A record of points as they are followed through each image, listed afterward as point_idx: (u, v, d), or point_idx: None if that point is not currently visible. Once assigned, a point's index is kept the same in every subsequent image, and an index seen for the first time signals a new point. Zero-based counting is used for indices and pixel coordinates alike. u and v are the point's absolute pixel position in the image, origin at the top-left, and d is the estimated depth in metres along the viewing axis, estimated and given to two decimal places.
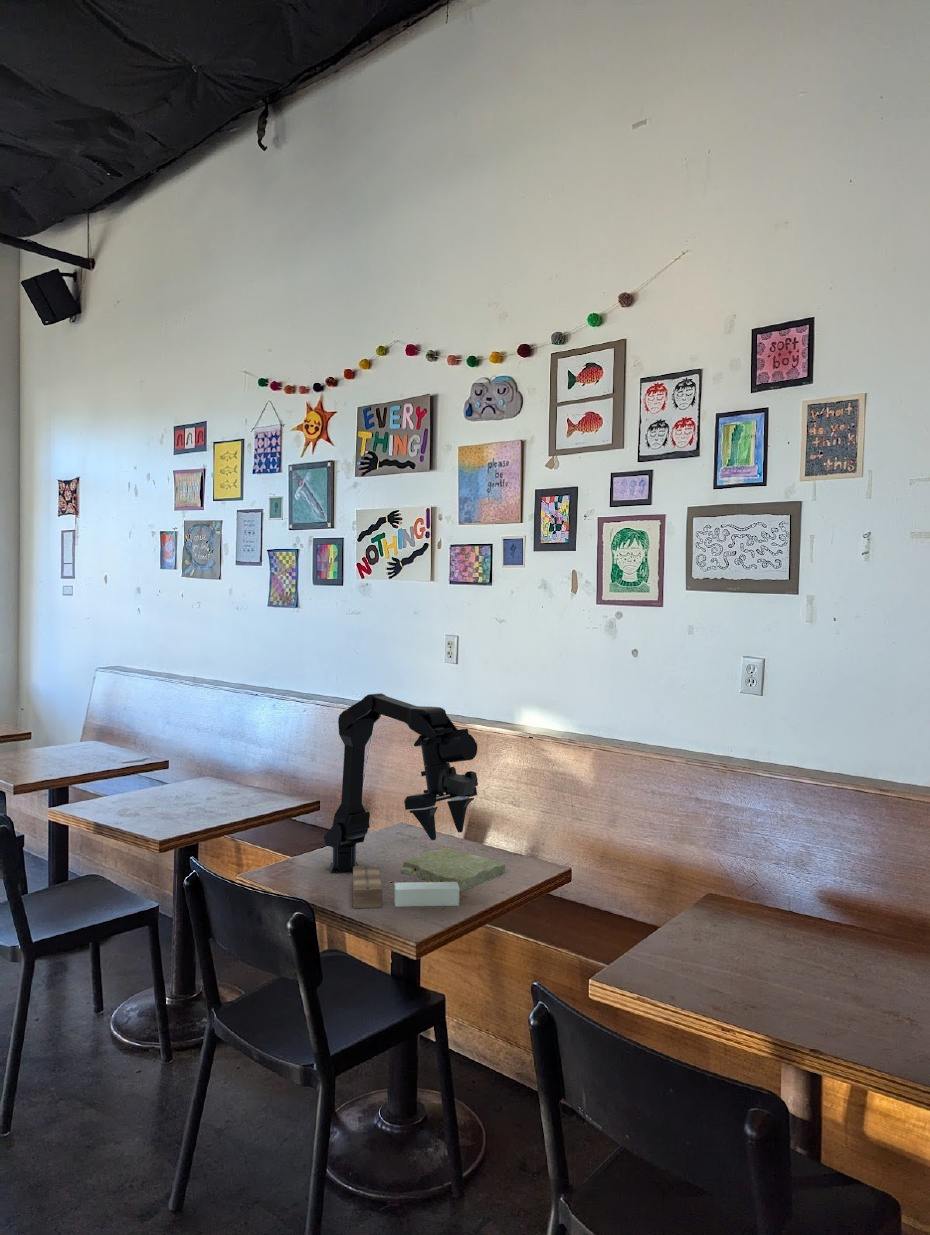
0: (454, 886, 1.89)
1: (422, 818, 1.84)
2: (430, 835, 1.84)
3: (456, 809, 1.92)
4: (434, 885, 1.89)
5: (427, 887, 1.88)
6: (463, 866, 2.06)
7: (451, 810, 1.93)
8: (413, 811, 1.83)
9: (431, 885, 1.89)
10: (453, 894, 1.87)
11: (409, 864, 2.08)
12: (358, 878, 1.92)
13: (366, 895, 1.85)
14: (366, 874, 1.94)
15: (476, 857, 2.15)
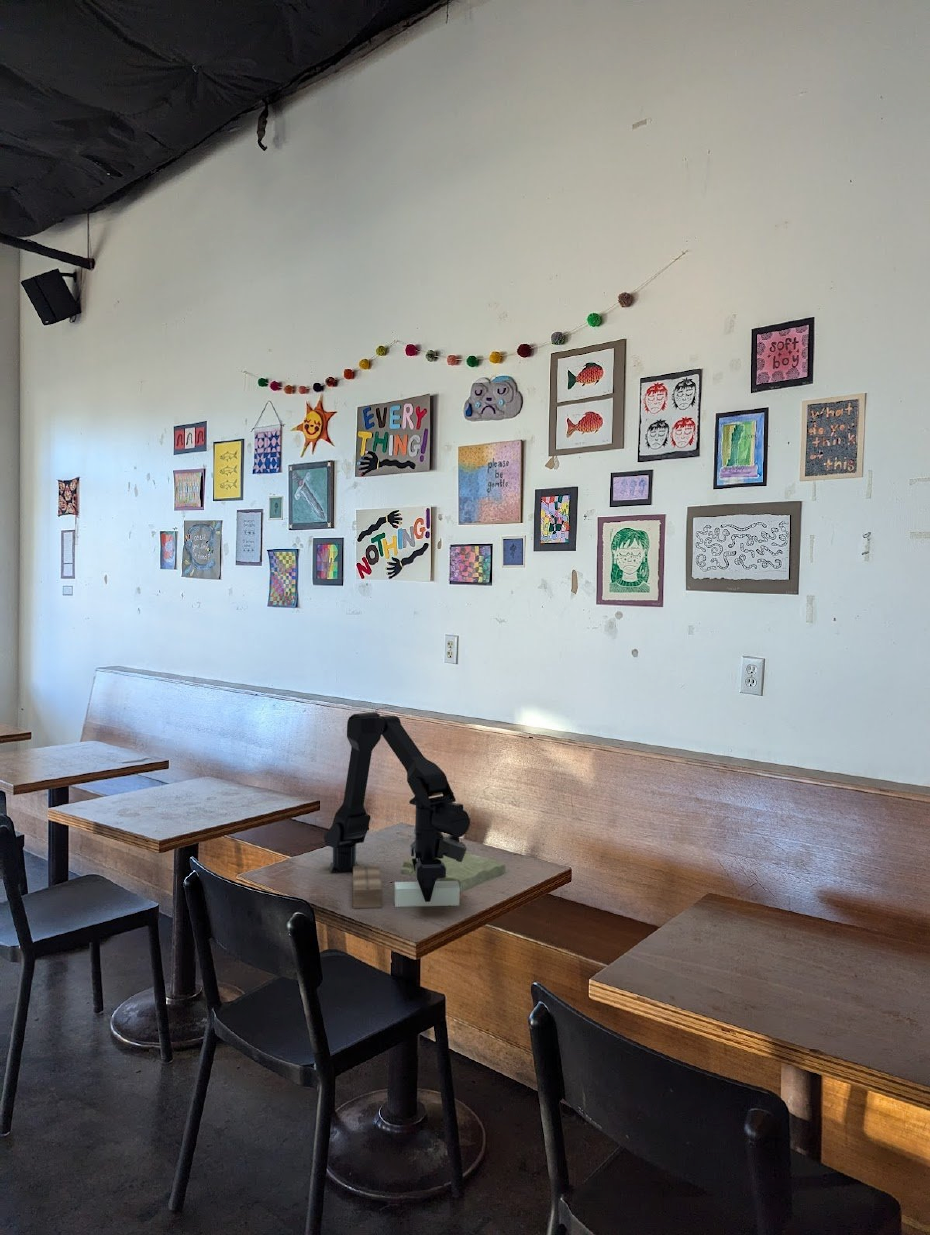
0: (454, 885, 1.89)
1: (423, 881, 1.85)
2: (426, 897, 1.86)
3: None
4: None
5: None
6: (463, 866, 2.06)
7: None
8: None
9: None
10: (453, 893, 1.87)
11: (409, 864, 2.08)
12: (358, 878, 1.92)
13: (366, 895, 1.85)
14: (366, 874, 1.94)
15: (476, 857, 2.15)
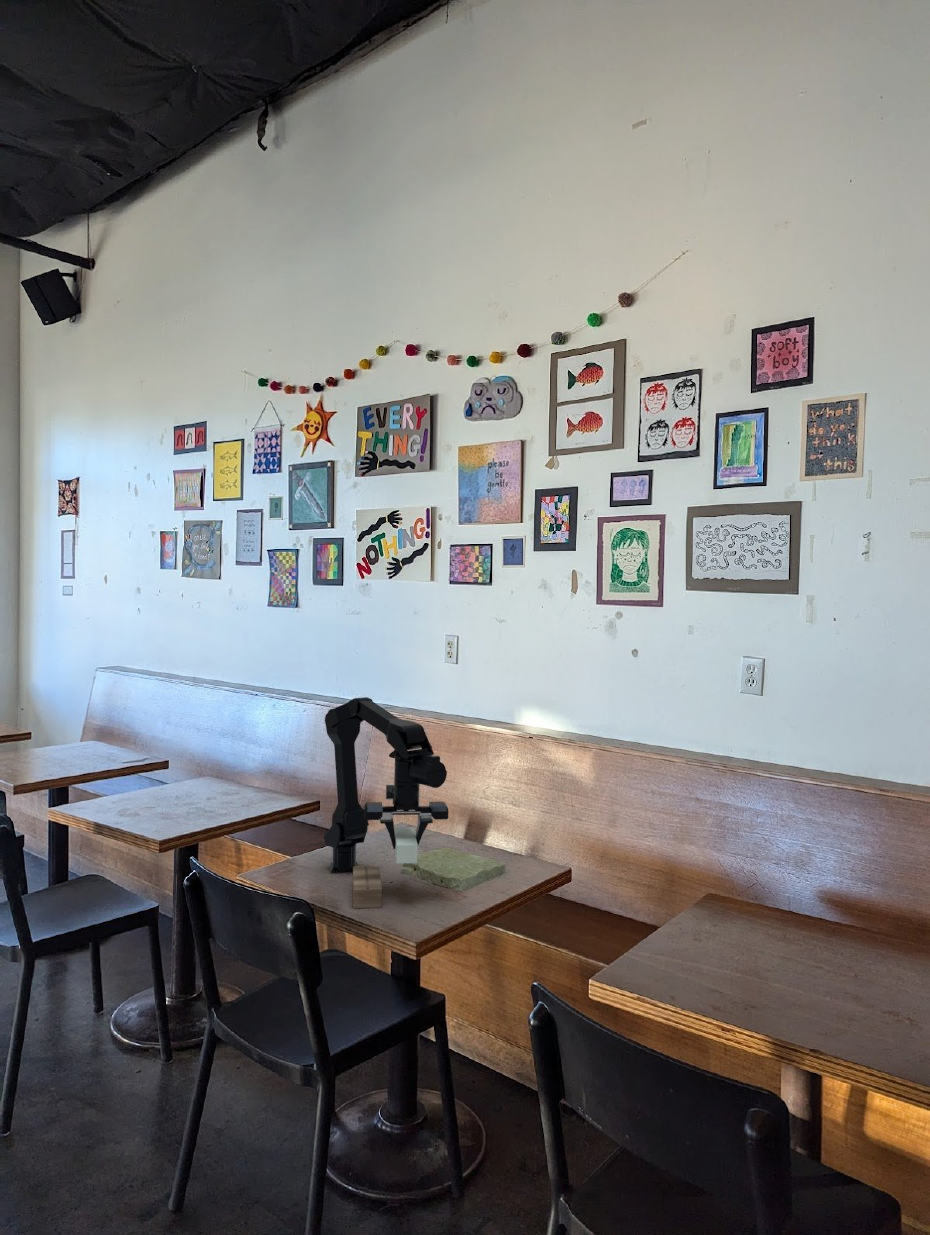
0: (407, 828, 2.00)
1: None
2: (418, 843, 1.94)
3: None
4: (404, 834, 1.95)
5: (411, 836, 1.94)
6: (463, 866, 2.06)
7: None
8: (432, 820, 1.93)
9: (404, 834, 1.95)
10: None
11: (409, 864, 2.08)
12: (358, 878, 1.92)
13: (366, 895, 1.85)
14: (366, 874, 1.94)
15: (476, 857, 2.15)
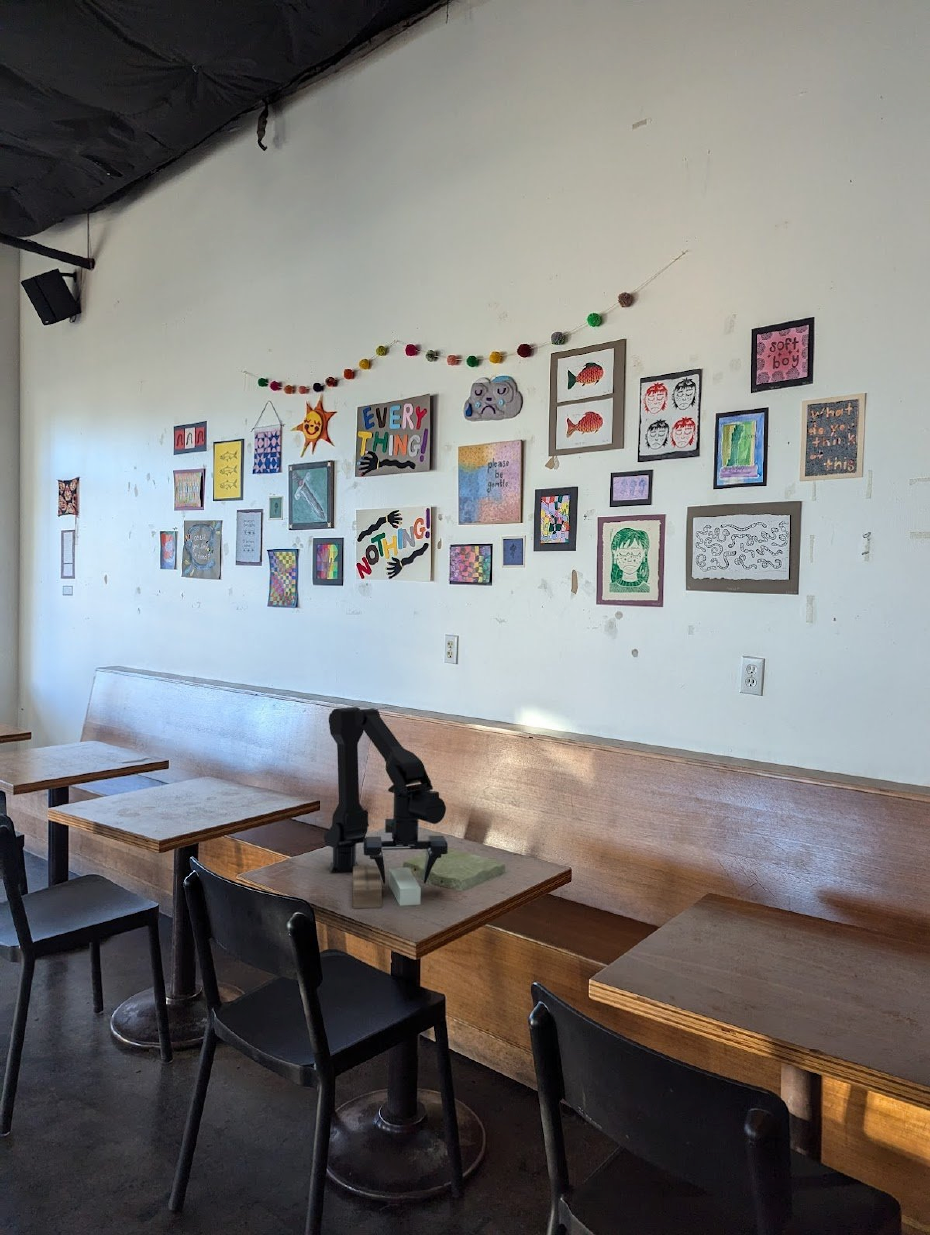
0: (403, 869, 2.00)
1: None
2: None
3: None
4: (402, 875, 1.95)
5: (410, 877, 1.94)
6: (463, 866, 2.06)
7: (383, 864, 1.91)
8: None
9: (403, 876, 1.95)
10: None
11: (409, 864, 2.08)
12: (358, 878, 1.92)
13: (366, 895, 1.85)
14: (366, 874, 1.94)
15: (476, 857, 2.15)
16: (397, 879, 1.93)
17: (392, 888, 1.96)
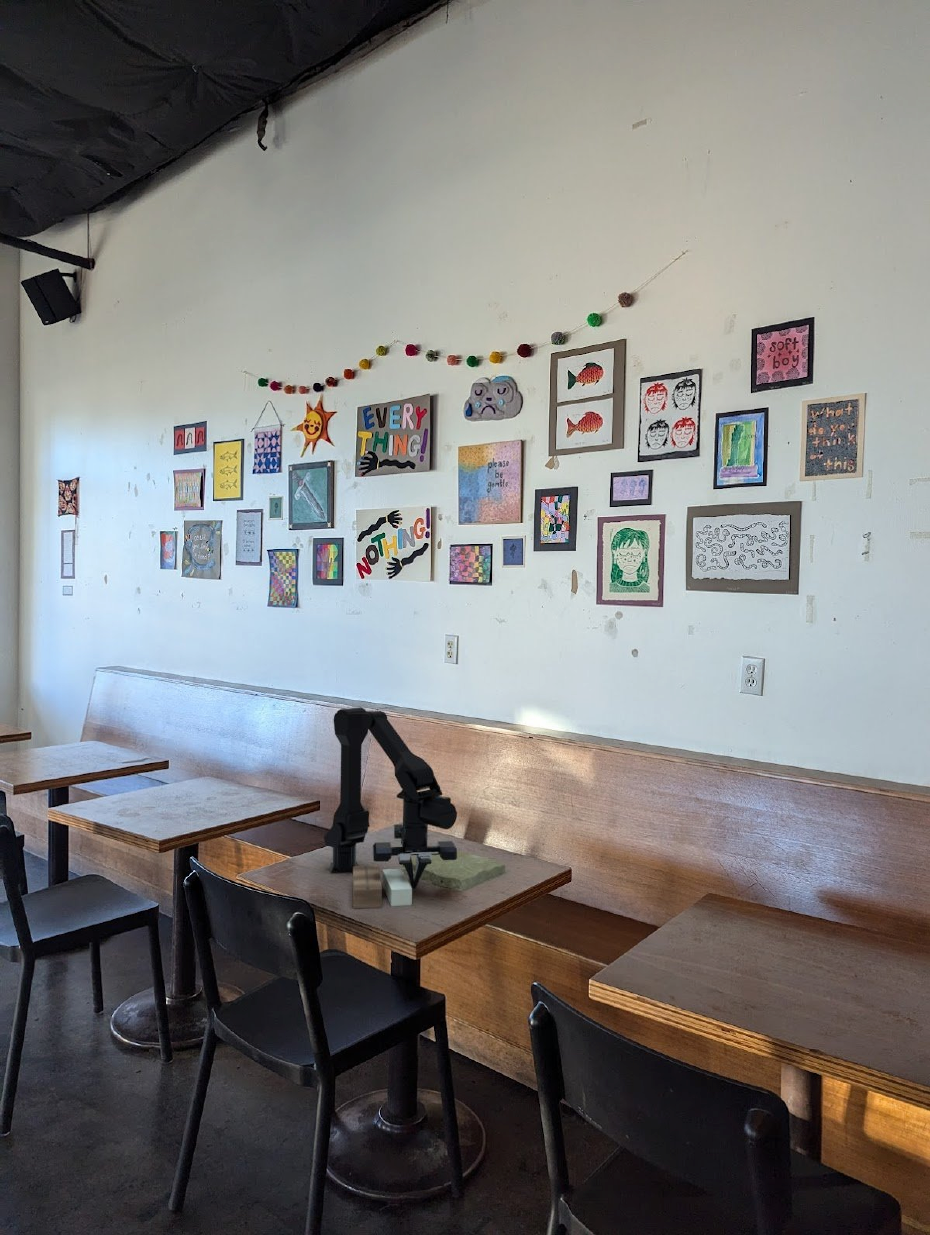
0: (396, 870, 1.99)
1: None
2: None
3: None
4: (395, 876, 1.95)
5: (402, 878, 1.94)
6: (463, 866, 2.06)
7: (412, 870, 1.92)
8: (431, 861, 1.93)
9: (395, 877, 1.94)
10: None
11: None
12: (358, 878, 1.92)
13: (366, 895, 1.85)
14: (366, 874, 1.94)
15: (476, 857, 2.15)
16: (389, 880, 1.92)
17: (385, 889, 1.95)
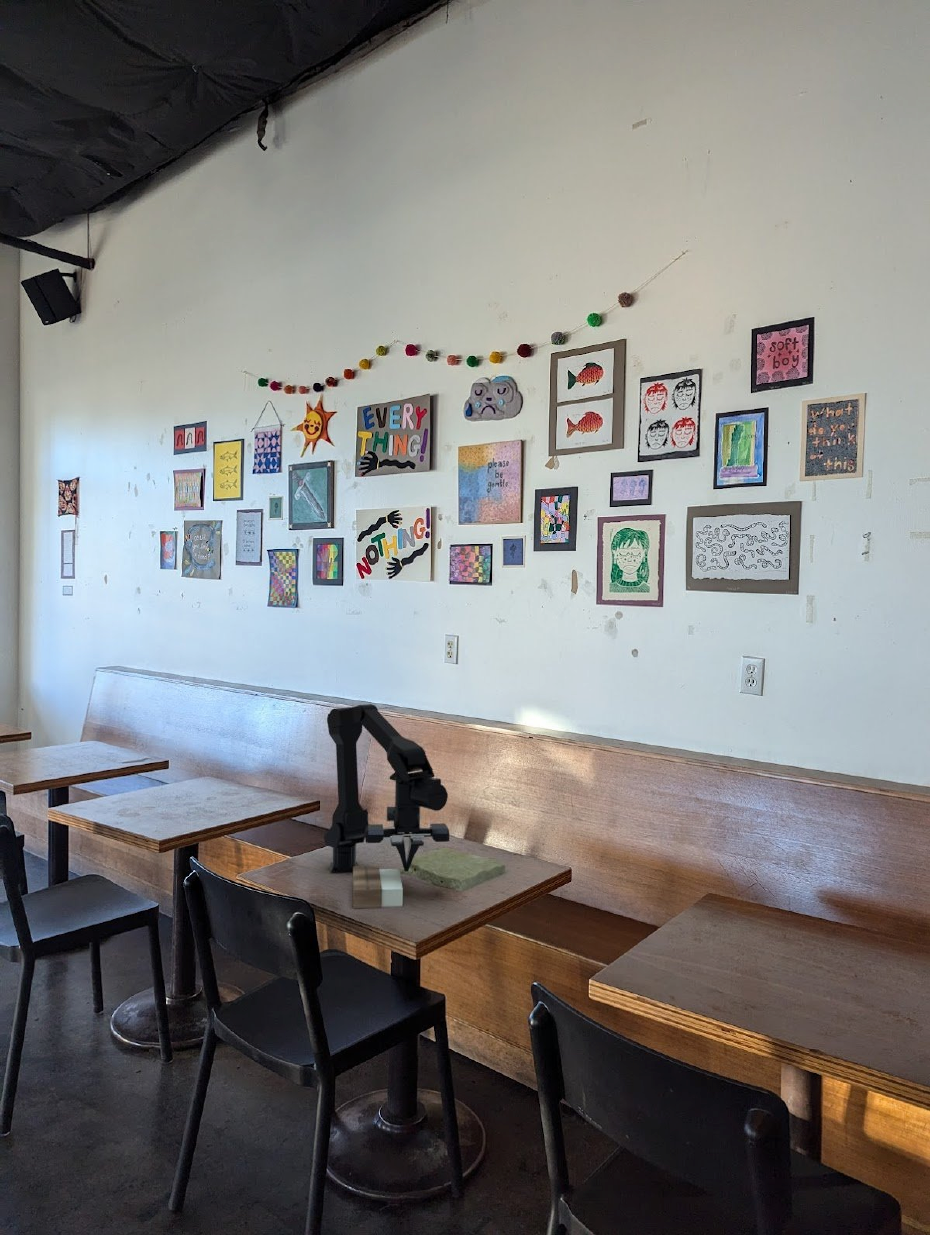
0: (392, 870, 1.99)
1: None
2: (409, 866, 1.93)
3: None
4: (389, 876, 1.95)
5: (396, 878, 1.93)
6: (463, 866, 2.06)
7: None
8: (423, 842, 1.93)
9: (390, 877, 1.94)
10: None
11: None
12: (358, 878, 1.92)
13: (366, 895, 1.85)
14: (366, 874, 1.94)
15: (476, 857, 2.15)
16: (383, 880, 1.92)
17: None
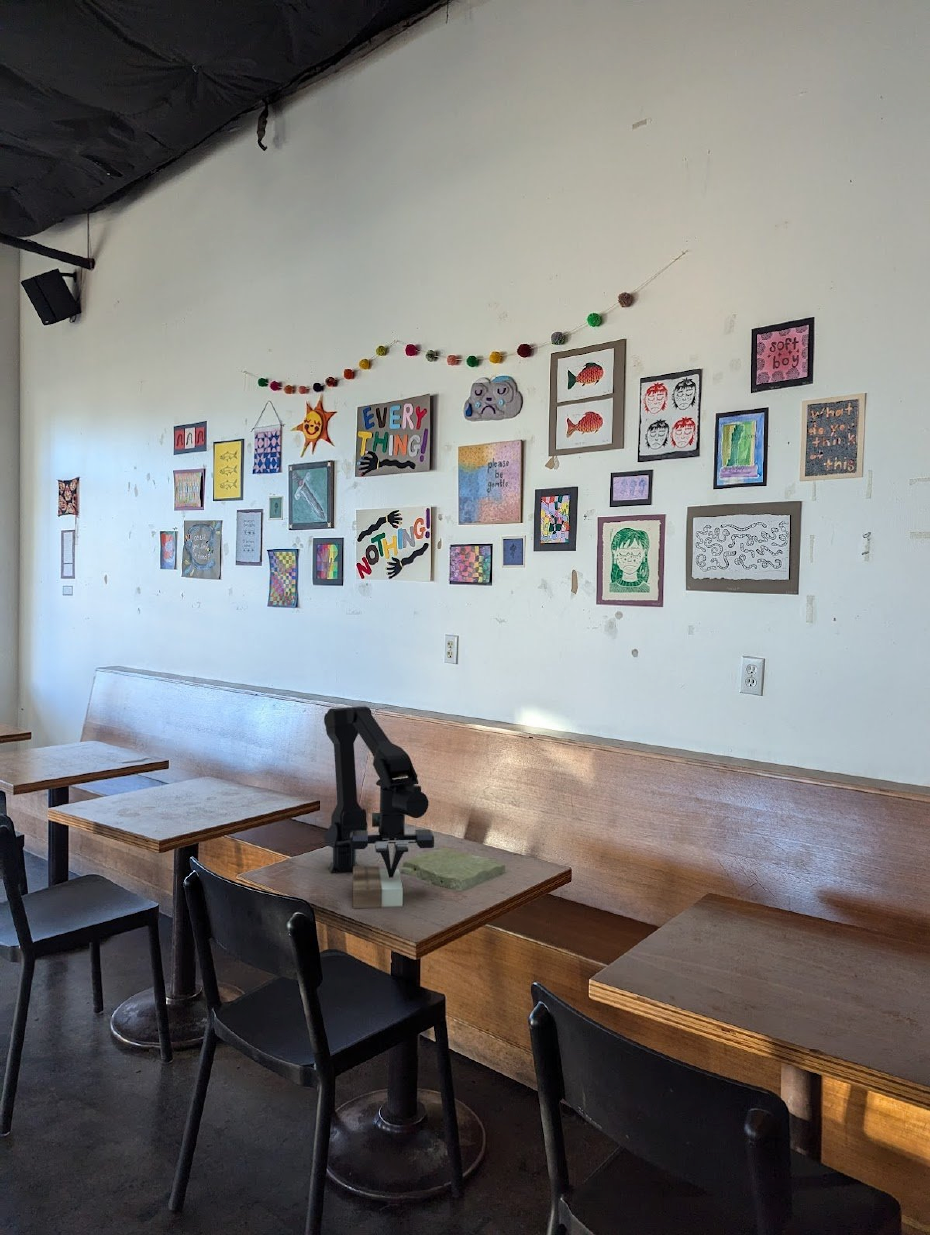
0: None
1: None
2: (394, 872, 1.93)
3: None
4: None
5: (396, 878, 1.93)
6: (463, 866, 2.06)
7: (389, 858, 1.91)
8: (408, 849, 1.92)
9: None
10: None
11: (409, 864, 2.08)
12: (358, 878, 1.92)
13: (366, 895, 1.85)
14: (366, 874, 1.94)
15: (476, 857, 2.15)
16: (382, 880, 1.92)
17: None
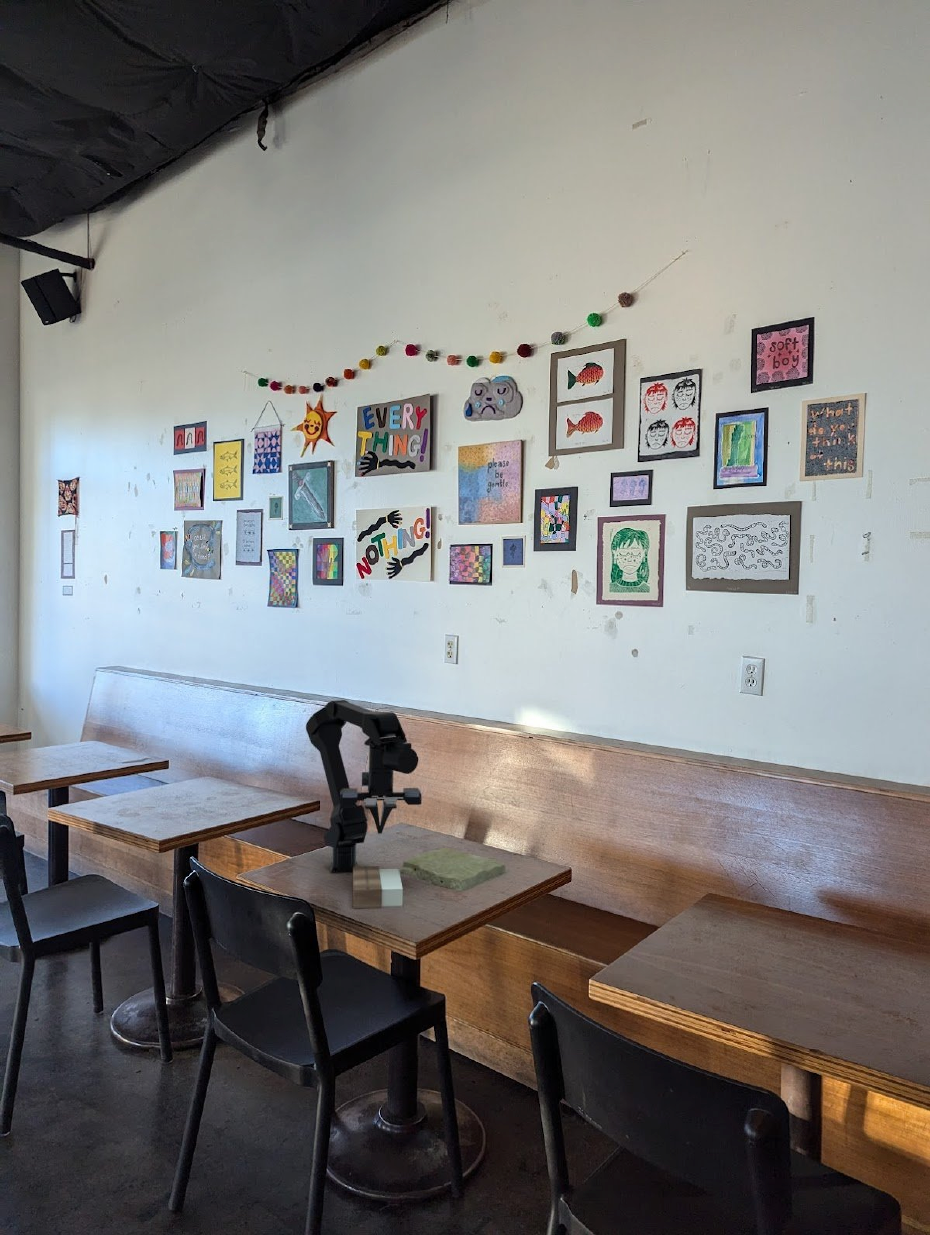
0: (392, 870, 1.99)
1: None
2: (382, 828, 2.00)
3: None
4: (389, 876, 1.95)
5: (396, 878, 1.93)
6: (463, 866, 2.06)
7: (378, 814, 1.98)
8: None
9: (390, 877, 1.94)
10: None
11: (409, 864, 2.08)
12: (358, 878, 1.92)
13: (366, 895, 1.85)
14: (366, 874, 1.94)
15: (476, 857, 2.15)
16: (382, 880, 1.92)
17: None
